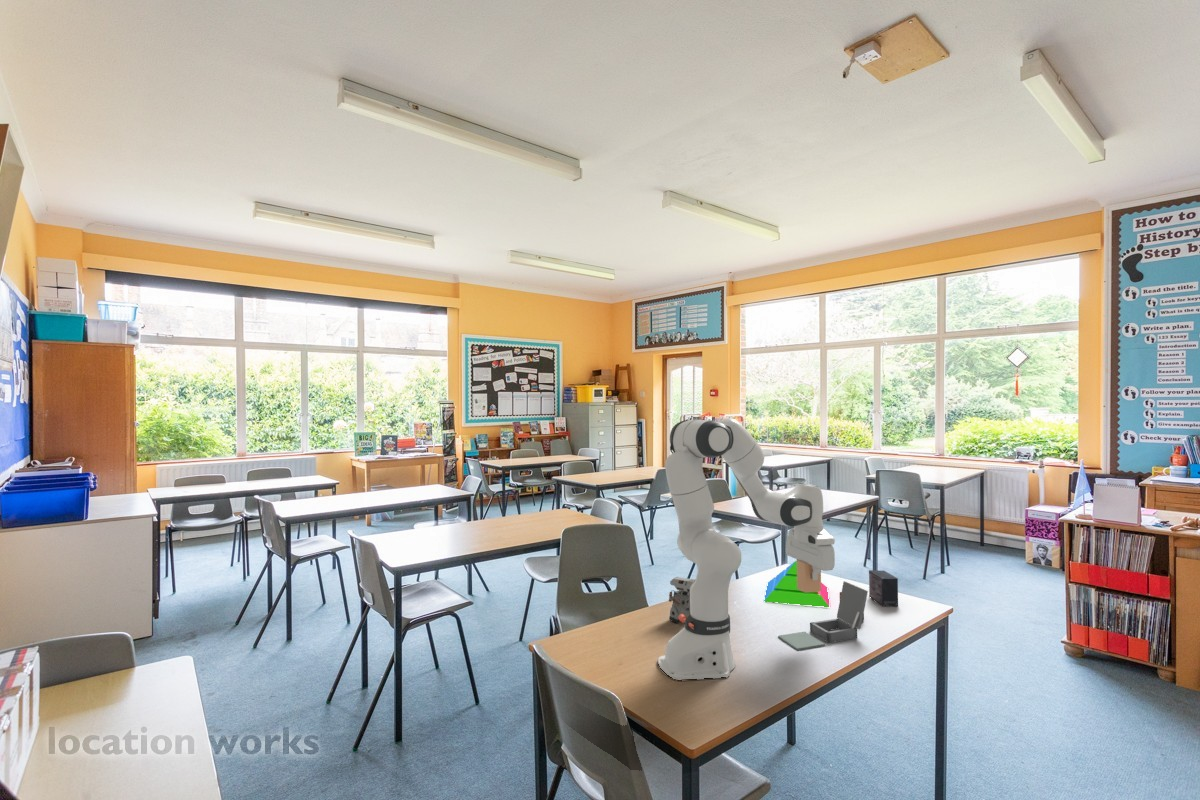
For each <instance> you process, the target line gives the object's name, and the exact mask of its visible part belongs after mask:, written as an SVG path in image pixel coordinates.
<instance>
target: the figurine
mask: <svg viewBox="0 0 1200 800" xmlns="http://www.w3.org/2000/svg"><path fill="white" fill-rule="evenodd" d="M695 580H696V578H695V579H692V578H687V577H679V576H676V577H673V578H672V579H671V580H670V582H669V583H670V586H674V588H675V589H676V590H671V591H669V594H668V597H669V598H668V602H671V603H672V604H671V607H670V611H669V617H668V620H670V621H671V620H672V621H673V623H675V622H676V623H677V624H679V623H681V621H680V620H679V615H680V614H683V615H684V616H686V618H687V617H688V615H689V613H690V587H691V585H692V584H693V583H694V582H695ZM676 623H675V624H676Z"/></svg>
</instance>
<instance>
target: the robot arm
mask: <svg viewBox="0 0 1200 800" xmlns="http://www.w3.org/2000/svg"><path fill="white" fill-rule="evenodd" d="M669 444H670V445H669V450H670V452H671V454H670V455H668V456H667V457H666V459H665V464H664V467H665V468H664V469H665V475H666V481H667V486H668V489H669V493H670V496H671V500H672V503H673V505H674V508H675V512H676V515H677V520H678V529H679V531H678V532H679V533H678V535H677V538H676V539H677V540H676V543H677V548H678V550H679V551H680V553H681V554H682V555H683V556H684V557H685V558H686V559H687V560H688V561H690V562H692V563H694V564H696V569H697V572H696V576H695V579H696V580H695V579H694V580H695V582H694V583H693V584H692V585H691V587H690V613H689V615H688V617H686V616H684V615H683V614H680V615H679V620H680V623H682V624H684V626H683V628H681V629H680V630H679V632H677V633H676V634H675V635H674V636H672V638H670V639H669V640H668V641H667V642H666V643H667V644H666V646H665V652H664V653H665V654H664V655H661V656H659V657H658V659H657V665H658V664H659V666H660V667H659V666H658V667H659V669H660V668H661V669H662V670H663V671H664V672H665V673H666V674H667V675H669V676H670V677H672V678H674V679H678V680H681V679H697V680H705V679H704V678H713V679H722V678H721V677H726V678H728V676H729V677H730V673H731V672H732V671H733V669H734V668H735V667H736V662H735V658H734V654H733V650H732V645H731V643H732V642H731V638H730V637H731V635H730V634H731V617H730V616H731V615H730V613H729V589H730V584H731V579H732V576H733V574H734V573H736V571H737V570H738V569H739V568H740V566H741V563H742V559H743V557H742V552H741V551H742V550H741V549H740V547H739V546H738V545H737V544H736V543H735V542H734V541H733V539H731V538H730V537H728V536H726V535H724V534H721V533H719V532H717V531H716V530H715V529H714V527H713V522H712V521H713V519H712V514H713V513H714V511H715V504H714V501H713V496H712V495H711V491H710V489H709V485H708V482H707V479H706V476H705V473H704V469H703V462H704V458H709V459H714V458H717V457H720V456H721V458H722V459H723V460H724V461H725V462H726V464H727V465H728V466H729V468H730V469H731V471H732V473H733V475H734V477H735V479H736V480H737V482H738V483H739V485H740V487H742V490H743V492H744V493H745V494H746V496H747V497H748V499H749V501H750V504H751V508H752V511H753V513H754V515H755V516H756V517H757V518H758V519H759V520H761V521H765V522H769V523H770V522H772V523H774V524H777V525H782V526H786V527H791V528H790V529H789V531H788V535H787V536H786V540H785V541H786V542H785V552H786V553H785V554H786V555H787V556H788V557H790V558H792V559H794V560H796V561H799V560H800V561H803V562H805V563H808V564H809V565H811V566H812V569H813V572H812V573H810V576H811V577H810V578H811V579H813V580H818V574H819V572H820V570H821V571H823V572H825V571H826V572H827V571H828V572H829V571H833V570H834V568H835V562H836V561H835V560H836V558H835V557H836V556H835V547H834V546H833V545H834V544H835V537H833V536H832V535H830V534H829V532H828V531H827V530H826V529H825V528H824V523H823V514H824V496H823V493H822V489H821V487H820V486H818V485H815V484H811V483H805V482H798V483H796V485H795V487H793V488H792V489H791V490H789V491H788V492H786V493H781V492H780V493H779V492H776V491H773V490H771V489H768V488H767V487H766V486H765V485H764V484H763V481H762V480H761V479H760V477H759V476H758V472H759V470H760V469H762V467H763V465H764V462H765V453H764V451H763V449H762V448H761V446H760V444H759V443H758V441H757V440H756V439H755V438H754V437H753V436H752V434H751V433H750V432H749V431H748V430H747V428H745V426H743V425H742V424H741V423H740V422H739V421H737V419H734V418H731V417H725V418H722V419H720V420H718V421H716V420H706V419H704V420H703V419H699V418H698V419H685V420H682V421H680V422H677V423H676V424H674V426H672V428H671V430H670V434H669ZM792 527H793V528H792ZM661 669H660V670H661ZM662 670H661V671H662ZM663 671H662V672H663ZM664 672H663V673H664ZM665 673H664V674H665ZM666 674H665V675H666ZM667 675H666V676H667ZM670 677H669V678H670ZM672 678H671V679H672ZM674 679H673V680H674Z"/></svg>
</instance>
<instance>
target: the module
mask: <svg viewBox="0 0 1200 800" xmlns="http://www.w3.org/2000/svg"><path fill="white" fill-rule="evenodd" d="M796 561H797V560H796ZM812 572H813V569H812V566H811V565H809V564H808V563H805V562H803V561H800V560H799V561H797V589H799V590H801V591H803V592H805V593H806V592H816V591H821V582H822V570H820V572H819V574H818V580H813V579H811V578H810V577H811V576H810V573H812Z"/></svg>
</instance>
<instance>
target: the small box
mask: <svg viewBox="0 0 1200 800" xmlns="http://www.w3.org/2000/svg"><path fill="white" fill-rule="evenodd" d="M868 579H869V580H868V583H869V584H868V585H869V586H868V593H869V594H868V597H869V598H870V597H871V598H872V600H873V601H874V600H875V601H876V602H875V601H874V602H875V603H876V604H878V605H880V606H881V607H899V585H898V584H899V578H898V577H896V576H894V575H893V574H891V573H890V572H888V571H885V570H876V569H875V570H872V569H870V570H868ZM871 598H870V599H871Z"/></svg>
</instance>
